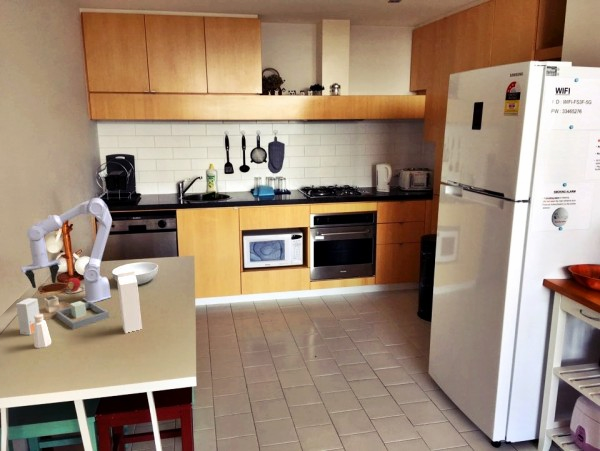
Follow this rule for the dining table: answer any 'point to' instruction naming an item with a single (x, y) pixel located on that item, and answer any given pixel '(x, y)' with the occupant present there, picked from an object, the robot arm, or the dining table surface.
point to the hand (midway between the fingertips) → (44, 284)
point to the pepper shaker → (41, 332)
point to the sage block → (78, 309)
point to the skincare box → (27, 315)
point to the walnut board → (53, 314)
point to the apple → (74, 286)
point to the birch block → (51, 304)
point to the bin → (102, 315)
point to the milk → (129, 301)
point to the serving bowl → (138, 271)
